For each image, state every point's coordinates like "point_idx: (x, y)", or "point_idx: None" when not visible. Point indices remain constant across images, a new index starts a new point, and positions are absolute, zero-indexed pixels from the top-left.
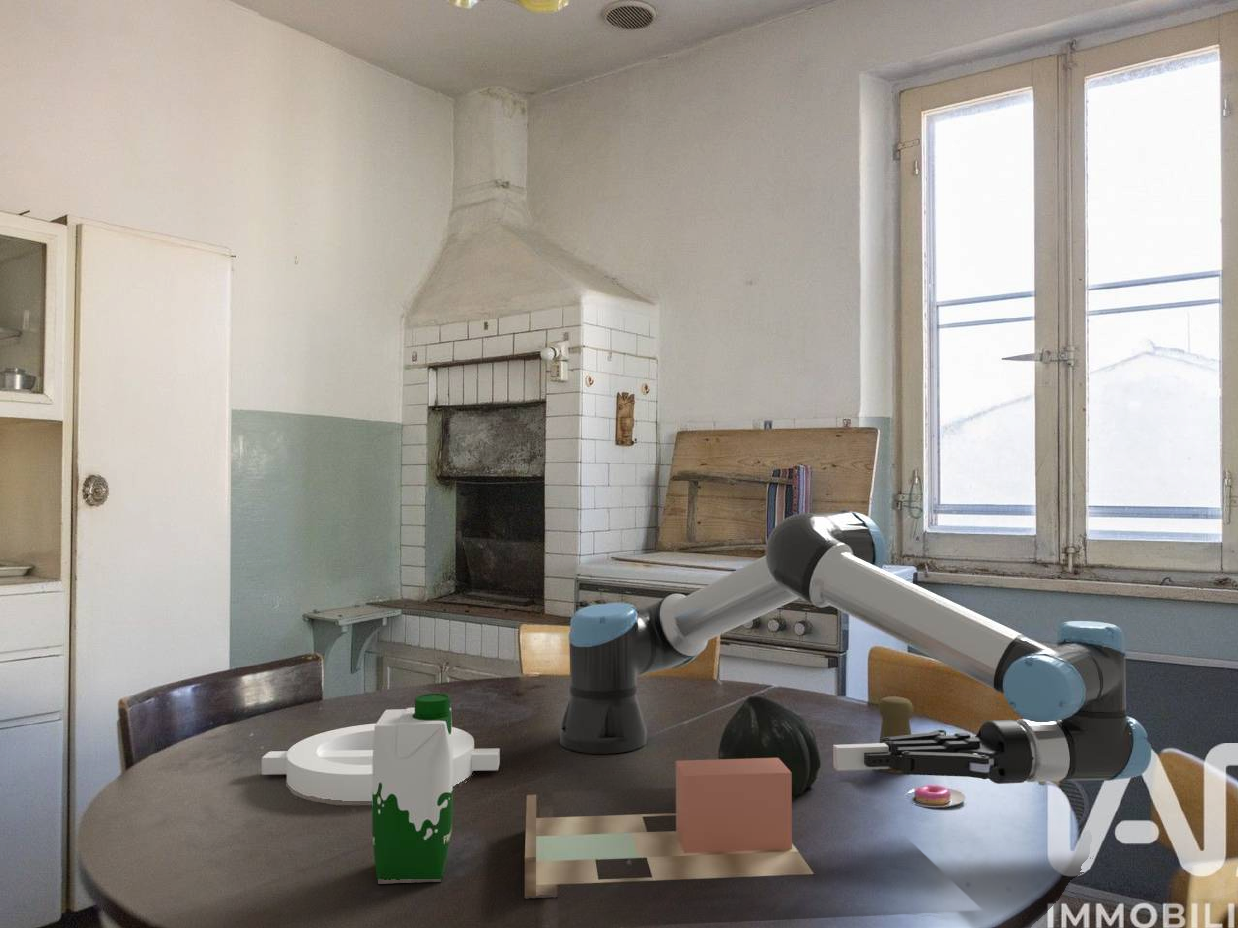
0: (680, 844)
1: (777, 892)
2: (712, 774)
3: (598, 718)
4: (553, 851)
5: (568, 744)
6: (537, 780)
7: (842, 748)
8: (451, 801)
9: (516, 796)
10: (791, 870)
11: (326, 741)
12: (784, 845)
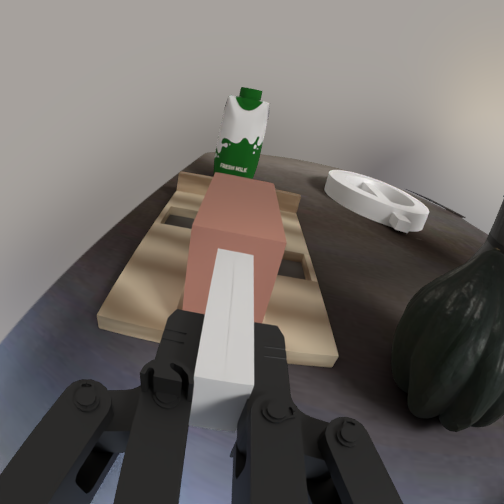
0: None
1: (107, 295)
2: (213, 182)
3: None
4: None
5: None
6: (393, 244)
7: (216, 258)
8: (233, 148)
9: (357, 230)
10: (117, 301)
11: (378, 182)
12: None
